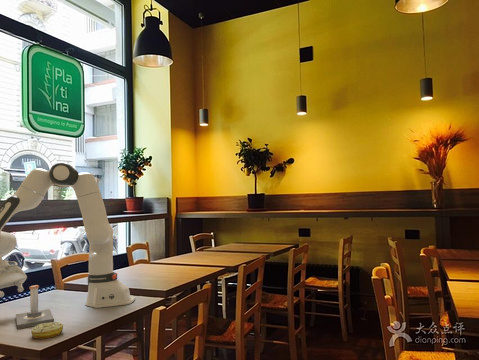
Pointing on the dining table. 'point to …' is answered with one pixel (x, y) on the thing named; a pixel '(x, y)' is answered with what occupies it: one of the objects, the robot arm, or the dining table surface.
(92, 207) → the robot arm
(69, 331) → the dining table surface
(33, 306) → the grey stamp
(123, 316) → the dining table surface
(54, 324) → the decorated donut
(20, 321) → the slate board
